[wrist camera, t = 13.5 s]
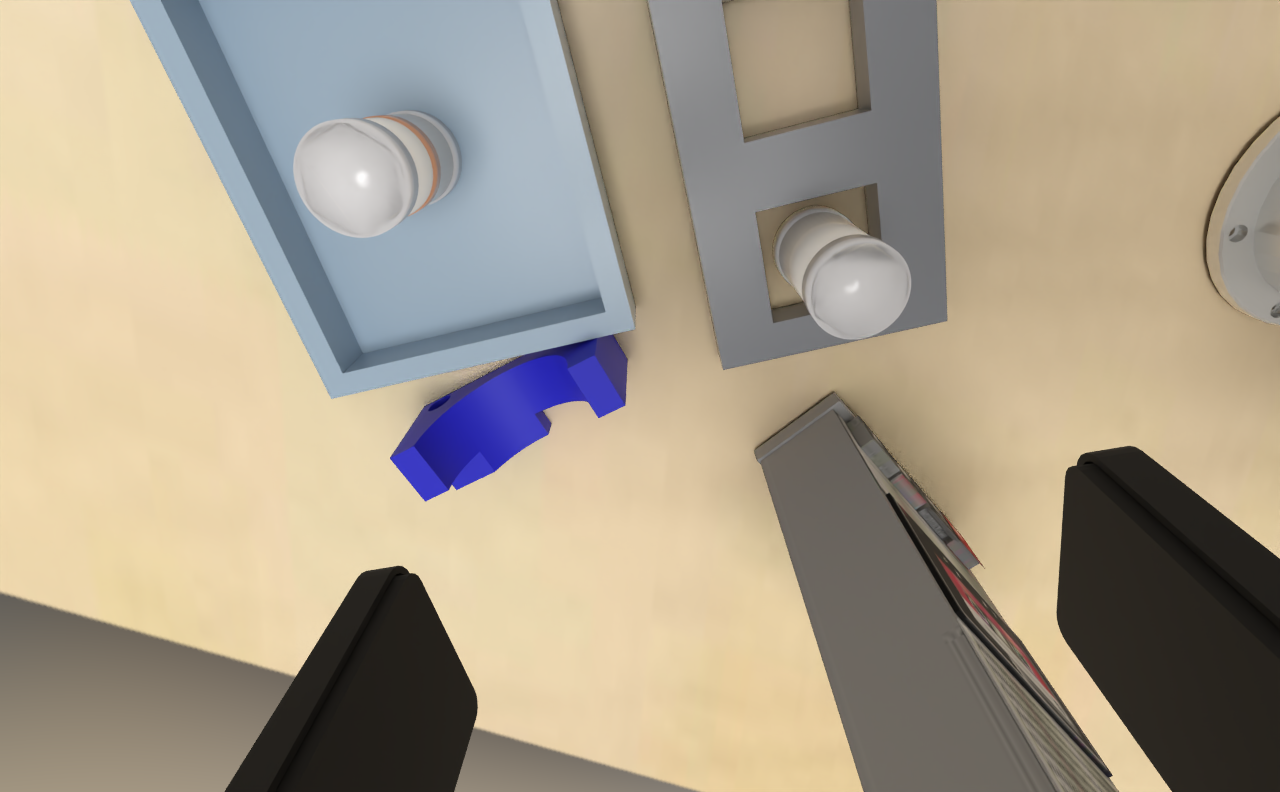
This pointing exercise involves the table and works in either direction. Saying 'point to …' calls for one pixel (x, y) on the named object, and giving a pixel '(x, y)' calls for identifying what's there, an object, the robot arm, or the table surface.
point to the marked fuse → (375, 170)
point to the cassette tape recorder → (912, 626)
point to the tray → (440, 232)
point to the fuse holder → (806, 166)
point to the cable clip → (507, 413)
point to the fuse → (841, 272)
